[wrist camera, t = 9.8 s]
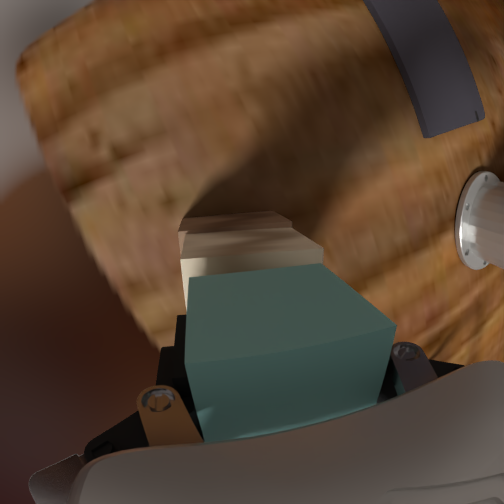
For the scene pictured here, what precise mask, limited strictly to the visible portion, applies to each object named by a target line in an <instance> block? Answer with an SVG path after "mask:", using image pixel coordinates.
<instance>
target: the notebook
mask: <svg viewBox="0 0 504 504" xmlns="http://www.w3.org/2000/svg"><path fill="white" fill-rule="evenodd" d="M363 1H364V3H365V5H366V6H367V8H368V10H369V11H370V13H371V15H372V16H373V18H374V20H375V22H376V24H377V25H378V27H379V29H380V31H381V33H382V35H383V37H384V39H385V41H386V43H387V45H388V47H389V49H390V51H391V53H392V55H393V57H394V59H395V62H396V64H397V66H398V68H399V71H400V73H401V75H402V78H403V80H404V83H405V85H406V88H407V90H408V93H409V95H410V98H411V101H412V104H413V106H414V109H415V112H416V115H417V118H418V121H419V124H420V128H421V131H422V134H423V137H424V138H431V137H434V136H437V135H439V134H442V133H445V132H448V131H451V130H453V129H456V128H459V127H462V126H465V125H468V124H471V123H474V122H478V121H480V120H483V119H484V118H485V112H484V108H483V105H482V101H481V98H480V95H479V92H478V89H477V86H476V83H475V80H474V77H473V75H472V72H471V69H470V67H469V64H468V62H467V59H466V57H465V54H464V52H463V50H462V47H461V45H460V43H459V41H458V39H457V37H456V35H455V32H454V30H453V28H452V26H451V24H450V23H449V21H448V19H447V17H446V15H445V13H444V11H443V10H442V8H441V6H440V4H439V3H438V1H437V0H363Z"/></svg>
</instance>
